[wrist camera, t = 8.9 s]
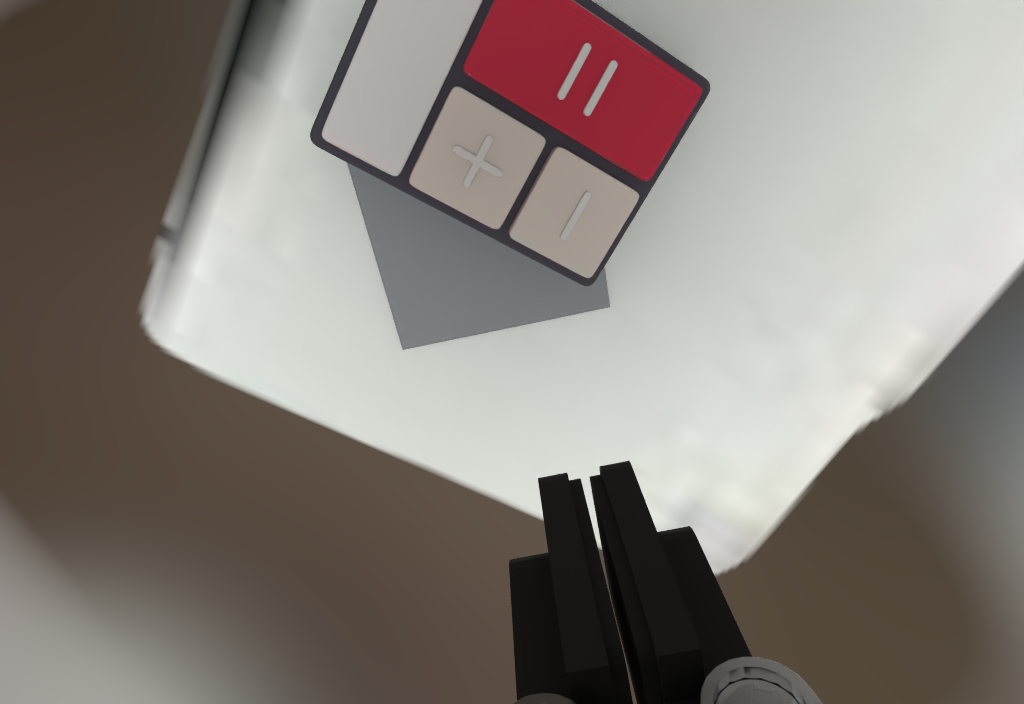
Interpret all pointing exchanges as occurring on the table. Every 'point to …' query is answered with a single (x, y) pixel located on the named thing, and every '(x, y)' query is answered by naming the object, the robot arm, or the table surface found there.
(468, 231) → the mat
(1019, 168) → the table surface
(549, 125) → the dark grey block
